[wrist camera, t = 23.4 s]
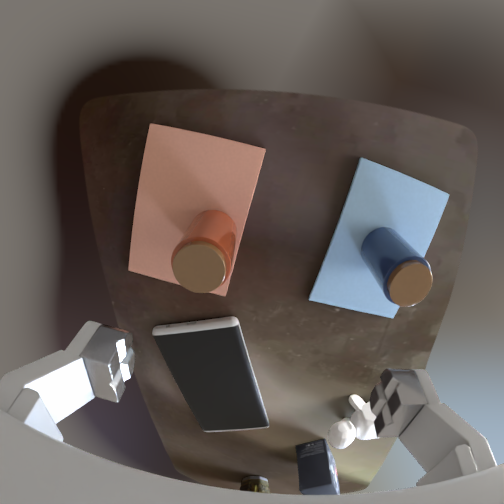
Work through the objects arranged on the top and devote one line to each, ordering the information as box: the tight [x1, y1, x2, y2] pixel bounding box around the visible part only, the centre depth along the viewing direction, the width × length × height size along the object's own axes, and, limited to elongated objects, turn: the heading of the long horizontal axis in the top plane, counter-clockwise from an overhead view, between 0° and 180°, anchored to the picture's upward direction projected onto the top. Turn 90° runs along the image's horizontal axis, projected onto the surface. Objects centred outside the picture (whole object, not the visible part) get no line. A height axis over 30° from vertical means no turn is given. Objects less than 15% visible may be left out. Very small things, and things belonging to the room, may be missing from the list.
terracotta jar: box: [171, 210, 237, 293], centre depth 34 cm, size 6×6×10 cm
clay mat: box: [128, 123, 266, 296], centre depth 38 cm, size 20×14×1 cm
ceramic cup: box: [240, 476, 270, 493], centre depth 62 cm, size 13×10×10 cm
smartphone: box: [152, 316, 269, 432], centre depth 49 cm, size 13×27×2 cm, turn 12°
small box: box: [296, 439, 340, 495], centre depth 55 cm, size 13×7×12 cm, turn 21°
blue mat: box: [308, 157, 449, 318], centre depth 39 cm, size 20×14×1 cm
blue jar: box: [361, 227, 432, 307], centre depth 35 cm, size 6×6×10 cm
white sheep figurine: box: [328, 394, 380, 449], centre depth 49 cm, size 9×8×15 cm
